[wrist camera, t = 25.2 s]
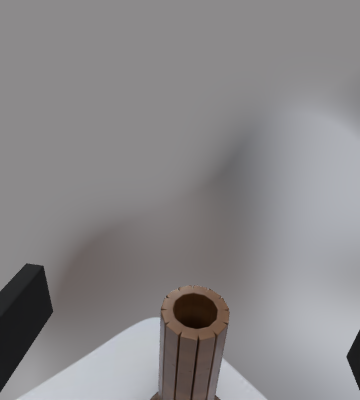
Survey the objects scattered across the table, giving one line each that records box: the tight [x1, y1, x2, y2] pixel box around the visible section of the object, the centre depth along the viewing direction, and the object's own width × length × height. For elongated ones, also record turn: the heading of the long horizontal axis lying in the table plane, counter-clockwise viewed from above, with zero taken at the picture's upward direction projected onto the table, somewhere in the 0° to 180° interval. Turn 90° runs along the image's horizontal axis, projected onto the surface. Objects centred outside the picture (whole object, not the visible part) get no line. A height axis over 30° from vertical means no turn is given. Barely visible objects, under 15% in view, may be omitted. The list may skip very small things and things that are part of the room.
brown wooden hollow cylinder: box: [158, 285, 229, 400], centre depth 27 cm, size 6×6×14 cm
